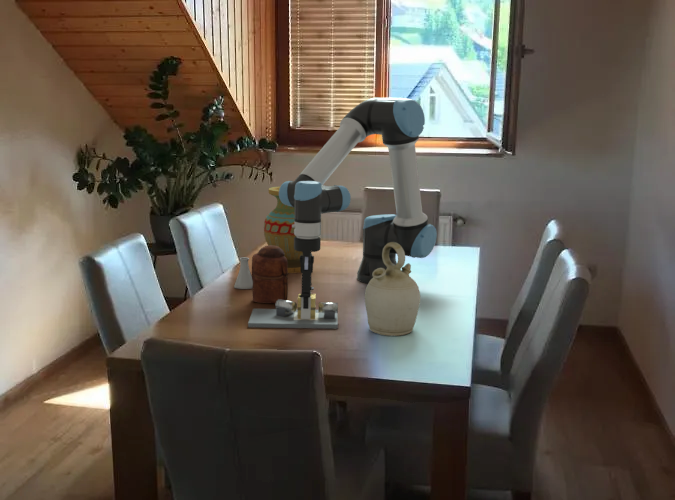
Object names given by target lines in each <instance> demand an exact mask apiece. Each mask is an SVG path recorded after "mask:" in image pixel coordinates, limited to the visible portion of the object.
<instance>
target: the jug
mask: <svg viewBox="0 0 675 500" xmlns="http://www.w3.org/2000/svg"><path fill="white" fill-rule="evenodd" d="M391 248H394V249H395V251H396V252H397V254H396V256H397V261H396V262H397V264H396V265H395V264H393V263H392V262H391V261H390V258H389V251H390V249H391ZM382 259H383V262H384V264H385V265H386V267H387V269H386V270H385V269H384V268H378V269H376V270H374V271H373V273H372V276H373V278H372V279H371V280H370V282H369V283H367V286H366V288H365V291H364V305H365V310H366V317H367V323H368V328H369V331H371V332H372V333H375V334H376V335H381V336H387V337H401V336H405V335H409V334H410V333H412V332H413V330H414V327H415V323H416V319H417V316H418V313H419V310H420V309H419V308H420V305H421V292H420V288H419V286H418V284H417V282H416V280H415V279H413V278H412V277H411V276H410V274H411V273H412V270H411V269H412V265H411V264H410V263H406V256H405V253H404V250H403V248H402V247H401V246H400V245H399V244H398V243H396V242H390V243H388V244H386V245H385V246H384V248H383V251H382ZM405 263H406V264H405Z"/></svg>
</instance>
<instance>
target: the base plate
mask: <svg viewBox="0 0 675 500" xmlns="http://www.w3.org/2000/svg"><path fill="white" fill-rule="evenodd" d="M338 321H339V320H338V313H335V319H324V313H318V309H315V319H298V310H297V309H296V311H295V312H293V314H291V315H289V316H287V317H281V316H276V308H252V311H251V314H250V317H249V319H248V322H247V327H248V328H272V329H273V328H274V329H275V328H278V329H279V328H281V329H283V328H285V329H287V328H288V329H332V330H333V329H338V327H339V325H338V324H339V322H338Z"/></svg>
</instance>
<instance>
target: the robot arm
mask: <svg viewBox="0 0 675 500" xmlns="http://www.w3.org/2000/svg"><path fill="white" fill-rule="evenodd" d="M425 121H426V120H425V113H424V110H423V108H422V106H421V104H420V103H419V102H417V101H416V100H415V99H413V98H405V97H372V98H368V99H366V100H364V101H362V102H359V104H357V105H356V106H354V107H353V108H352V109H351V110H350V111H348V113H346V115H345V116H344V117H343V118H342V119H341V120H340V121H339V127H338V128H337V130H336V131H335V132H334V133H333V134H332V135H331V137H330V138H329V139H328V140H327V141H326V143H325V144H324V145H323V147H321V149H320V150H319V151H318V152H317V153H316V154H315V156H314V157H313V158H311V160H310V161H309V163H308V164H307V165H306V166H305V167H304V169H303V170H302V171H301V172H300V174H299V175H298V176H297V177H296V178H295V180H286V181H285V182H283V183H282V184H281V185H280V186H279V187H280V189H279V198H280V200H281V202H282V203H283V204H285V205H288V206H292V207H294V217H295V218H294V221H295V222H294V223H295V224H293V225H292V227H293V228H295V229H294V235H296V237H295V238H294V249H295V250H296V251H299V252H300V251H301V252H303V256H300V264H301V268H300V271H301V272H300V273H301V291H300V294H301V295H299V297H301V319H310V315H311V294H312V291H314V286H312V285H313V284H312V274H313V271H314V263H315V256H314V255H313V253H317V252H319V251H320V250H321V246H322V245H321V240H322V239H321V237H320V236H322V214H329V213H340V212H341V211H344V210H346V209H348V207H349V206H350V203H351V200H352V198H351V193H350V190H349V189H348V188H347V187H346V186H344V185H335V184H334V185H326V184H325V183H326V182H327V181H328V180H329V178H330V177H331V176H332V174H333V173H334V172H335V171H336V170H337V169H338V168H339V166H340V165H341V163H342V162H344V160H345V159H346V158H347V156H348V155H349V154H350V153H351V151H352V150H353V149H354V148H355V147H356V146H357V144H358V143H362V142H363V141H365V139H366V138H367V137H369V136H371V135H379V136H380V135H381V139H382V144H383V145H384V146H386V148H387V149H388V157H389V164H390V172H391V180H392V188H393V189H392V190H393V194H394V202H395V209H396V210H395V211H396V212H395V213H396V214H391V213H389V214H388V213H387V214H375V215H374V214H373V215H370V216H367V217H365V218H364V219H363V228H362V231H363V234H362V235H363V236H362V259H361V262H360V264H359V266H358V267H359V268H358V270H357V272H356V274H357V275H356V276H357V278H356V280H358V281H359V282H361V283H364V284H368V283H369V282H370V280H371V279H372V278H373V276H372V273H373V271H374V270H376V269H378V268H384V269H385V270H386V269H387V267H386V265H385V264H384V262H383V259H382V251H383V248H384V246H385V245H386V244H388V243H390V242H396V243H398V244H399V245H400V246H401V247H402V248H403V250H404V253H405V257H411V258H413V259H414V258H417V259H418V258H419V259H423V258H426V257H428V256H430V254H431V253H432V252H433V250H434V247H435V245H436V242H437V237H438V234H437V233H438V232H437V228H436V226H434V225H433V224H431V223H429V218H428V215H427V214H426V213H424V212H423V207H422V206H423V205H422V196H421V186H420V180H419V179H420V178H419V171H418V161H417V152H416V143H417V142H418V141H419V139H420V135H421V134H422V132H424V128H425V127H424V126H425V124H426V122H425ZM324 184H325V185H324ZM396 256H397V252H396V251H395V249H394V248H391V249H390V251H389V258H390V261H391V262H392V263H393V264H395V265H396V264H397V262H398V261H397V257H396Z"/></svg>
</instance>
